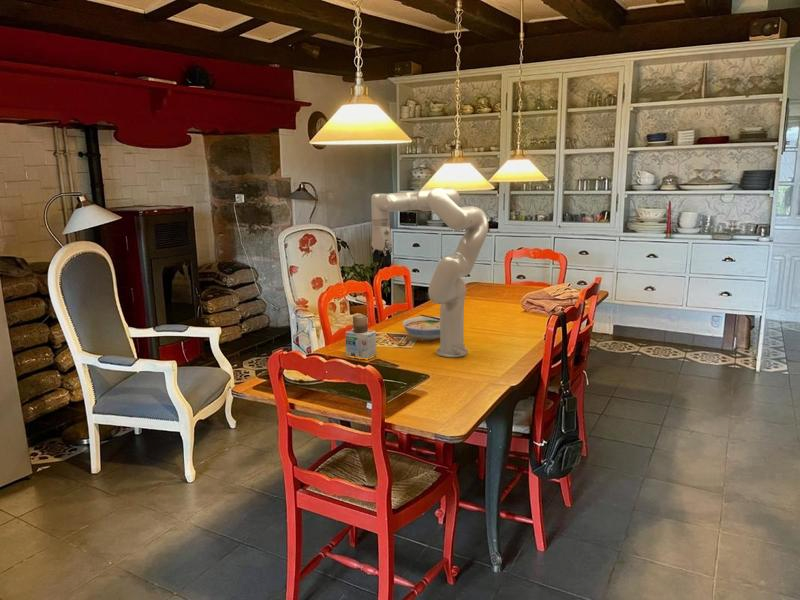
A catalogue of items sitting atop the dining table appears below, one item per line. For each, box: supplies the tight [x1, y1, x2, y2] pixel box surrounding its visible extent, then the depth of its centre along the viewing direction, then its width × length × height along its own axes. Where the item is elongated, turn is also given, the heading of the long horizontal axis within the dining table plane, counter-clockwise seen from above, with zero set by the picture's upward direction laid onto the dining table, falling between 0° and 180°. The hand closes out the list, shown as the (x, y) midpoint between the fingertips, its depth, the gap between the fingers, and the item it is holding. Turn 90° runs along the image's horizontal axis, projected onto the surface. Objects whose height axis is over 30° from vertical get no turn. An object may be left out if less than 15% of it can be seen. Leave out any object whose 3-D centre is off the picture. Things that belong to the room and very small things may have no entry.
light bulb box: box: [344, 328, 377, 358], centre depth 236 cm, size 11×7×11 cm, turn 62°
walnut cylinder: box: [352, 314, 368, 333], centre depth 234 cm, size 6×6×6 cm
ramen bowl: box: [401, 314, 440, 341], centre depth 261 cm, size 25×23×8 cm
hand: (381, 263), depth 253 cm, fingers open, 9 cm apart
